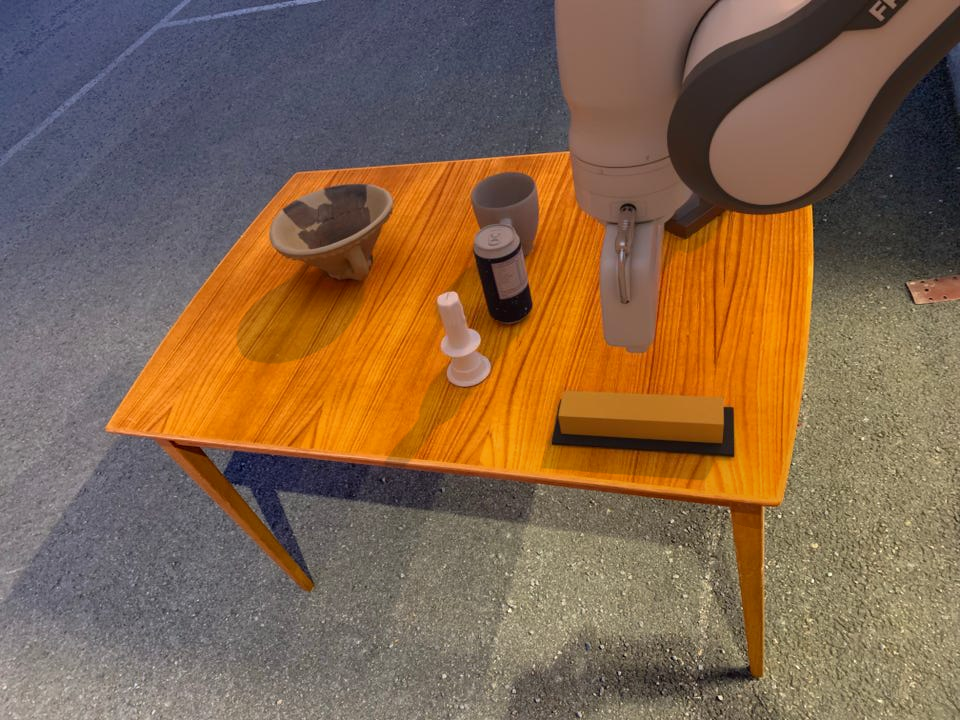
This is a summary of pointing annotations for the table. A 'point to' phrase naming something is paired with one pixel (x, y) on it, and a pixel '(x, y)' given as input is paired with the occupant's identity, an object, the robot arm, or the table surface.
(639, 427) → the bar
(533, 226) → the mug
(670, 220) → the tower
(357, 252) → the bowl
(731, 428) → the mat
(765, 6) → the robot arm
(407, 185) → the table surface
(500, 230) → the beverage can
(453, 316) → the candle
